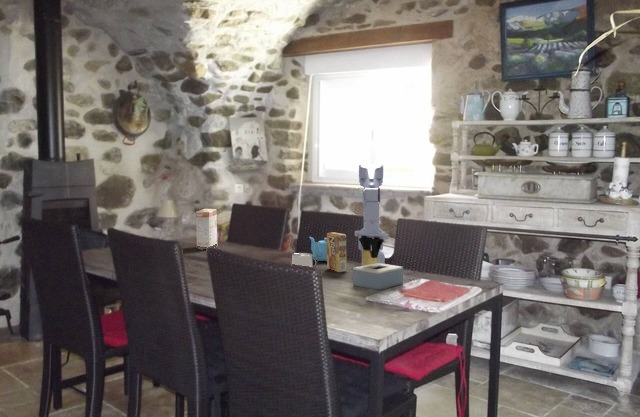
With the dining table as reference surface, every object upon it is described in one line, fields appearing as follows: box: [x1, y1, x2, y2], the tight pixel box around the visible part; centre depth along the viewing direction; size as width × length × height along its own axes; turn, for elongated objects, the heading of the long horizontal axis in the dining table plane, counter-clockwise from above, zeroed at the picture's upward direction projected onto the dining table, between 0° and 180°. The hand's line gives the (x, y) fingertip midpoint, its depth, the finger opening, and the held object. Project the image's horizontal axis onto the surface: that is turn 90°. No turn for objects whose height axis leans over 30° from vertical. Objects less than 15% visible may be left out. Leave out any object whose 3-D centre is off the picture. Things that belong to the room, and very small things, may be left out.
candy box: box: [326, 231, 348, 273], centre depth 254 cm, size 9×4×15 cm, turn 33°
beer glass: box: [291, 252, 313, 267], centre depth 203 cm, size 7×7×15 cm
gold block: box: [361, 249, 378, 265], centre depth 227 cm, size 5×3×5 cm, turn 135°
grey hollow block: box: [352, 263, 404, 291], centre depth 226 cm, size 14×12×6 cm
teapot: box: [308, 236, 327, 263], centre depth 277 cm, size 15×15×10 cm
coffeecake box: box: [195, 208, 218, 248], centre depth 313 cm, size 15×7×20 cm, turn 174°
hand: (371, 257), depth 227 cm, fingers closed on gold block, 3 cm apart
